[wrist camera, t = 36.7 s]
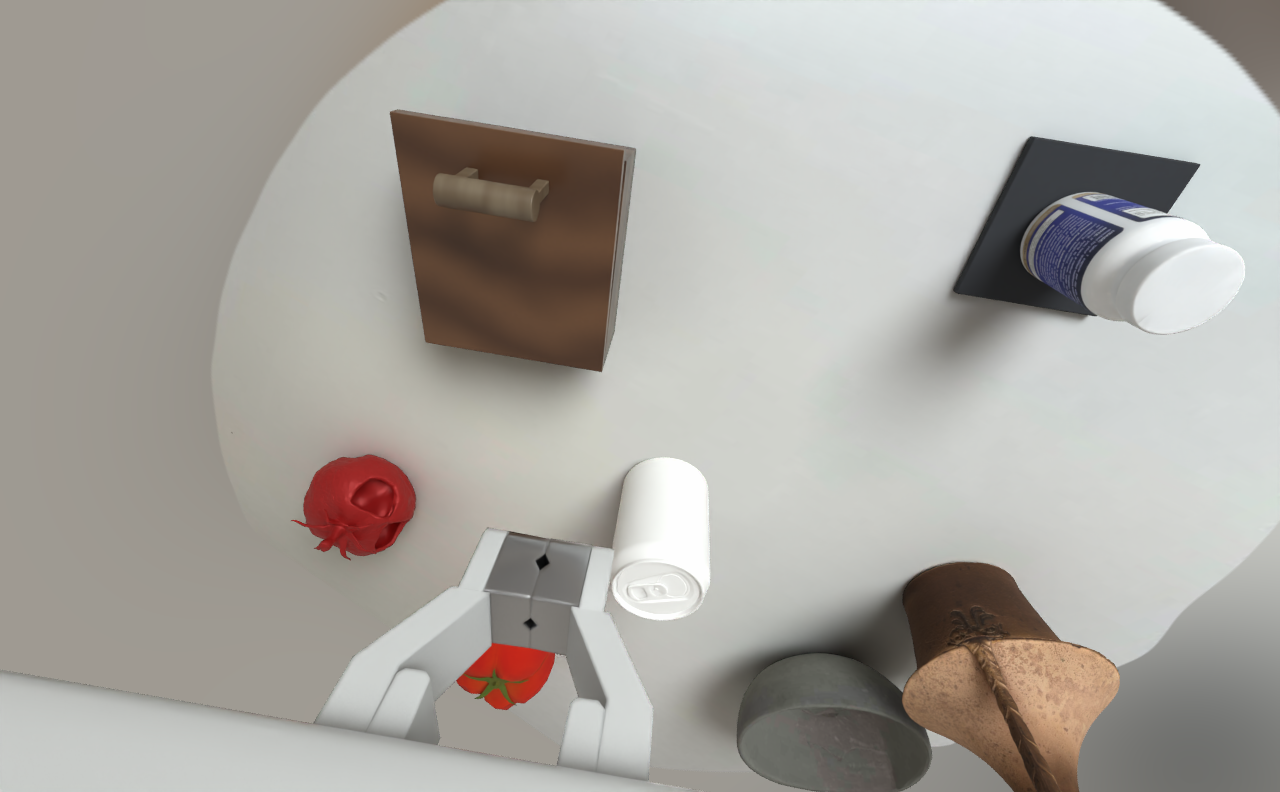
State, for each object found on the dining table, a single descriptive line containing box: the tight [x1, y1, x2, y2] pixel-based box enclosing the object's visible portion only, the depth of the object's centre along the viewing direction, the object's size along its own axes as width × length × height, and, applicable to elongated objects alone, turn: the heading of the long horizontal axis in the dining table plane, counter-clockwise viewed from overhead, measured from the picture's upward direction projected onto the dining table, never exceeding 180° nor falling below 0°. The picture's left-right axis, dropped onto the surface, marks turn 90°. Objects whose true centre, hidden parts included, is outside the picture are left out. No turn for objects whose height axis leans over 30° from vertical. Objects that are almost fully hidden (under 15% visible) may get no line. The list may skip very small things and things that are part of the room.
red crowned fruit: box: [291, 455, 416, 560], centre depth 49 cm, size 10×10×9 cm
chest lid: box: [390, 109, 626, 372], centre depth 30 cm, size 14×13×5 cm
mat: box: [954, 136, 1200, 316], centre depth 34 cm, size 10×10×1 cm
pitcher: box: [902, 562, 1120, 792], centre depth 42 cm, size 18×17×28 cm
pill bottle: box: [1020, 192, 1245, 335], centre depth 29 cm, size 6×6×10 cm
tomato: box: [456, 643, 555, 710], centre depth 61 cm, size 13×12×8 cm
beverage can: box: [610, 457, 710, 621], centre depth 44 cm, size 8×8×12 cm
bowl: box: [737, 653, 932, 792], centre depth 59 cm, size 20×20×10 cm
